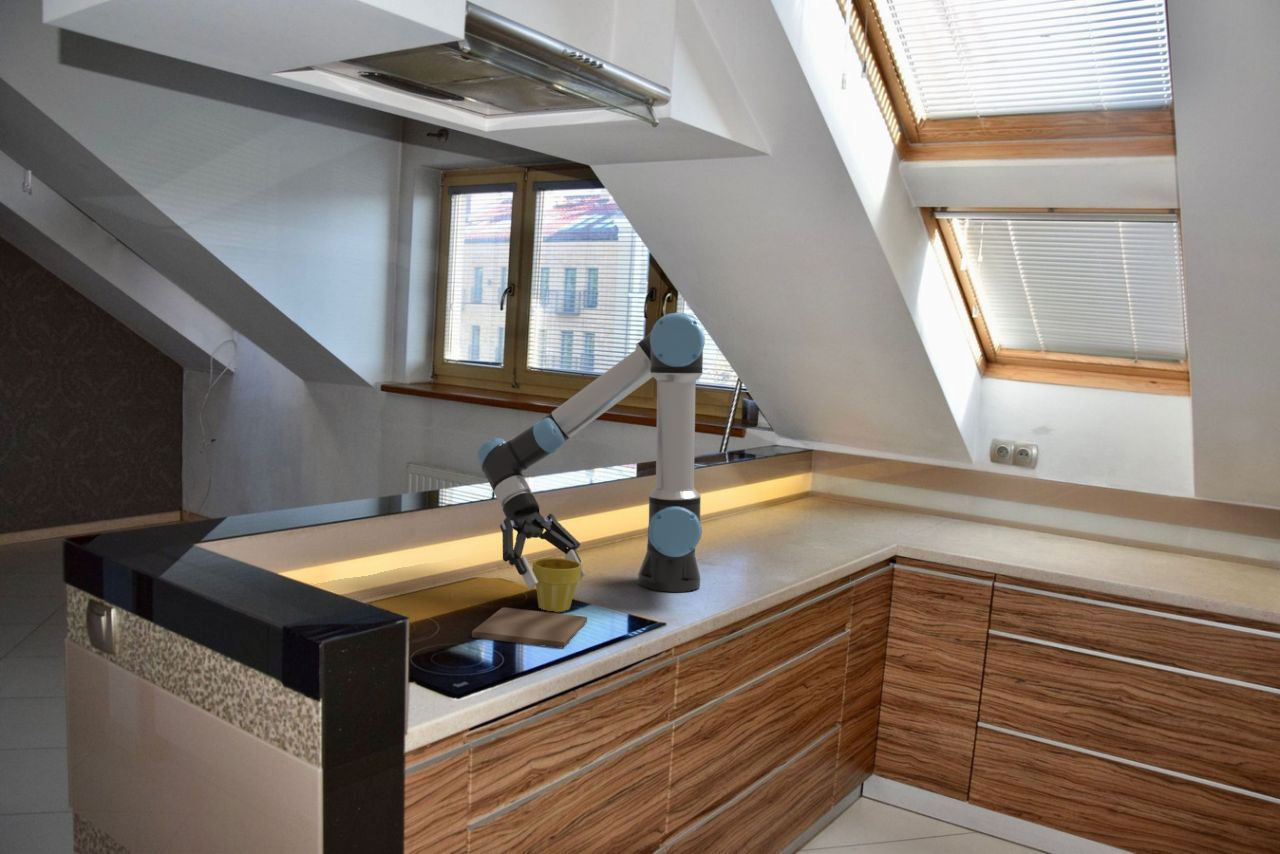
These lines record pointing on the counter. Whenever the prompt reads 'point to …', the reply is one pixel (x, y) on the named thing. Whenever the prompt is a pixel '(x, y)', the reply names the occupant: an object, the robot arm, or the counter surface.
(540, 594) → the plant pot
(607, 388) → the robot arm
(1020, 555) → the counter surface
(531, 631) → the walnut board
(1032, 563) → the counter surface
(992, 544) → the counter surface
